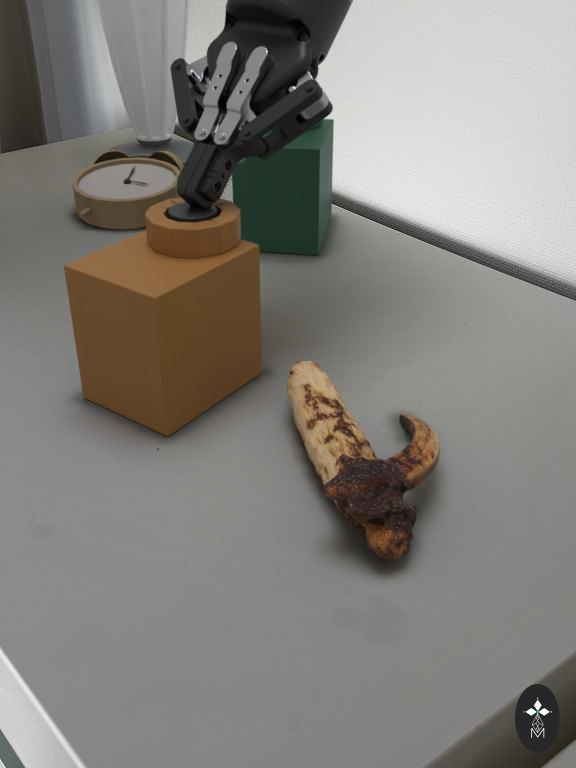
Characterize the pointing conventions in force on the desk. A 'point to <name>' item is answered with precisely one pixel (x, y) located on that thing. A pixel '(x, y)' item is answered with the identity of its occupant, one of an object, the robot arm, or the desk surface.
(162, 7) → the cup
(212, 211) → the dark grey cylinder
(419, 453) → the lashed bone hook
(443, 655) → the desk surface
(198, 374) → the amber bottle
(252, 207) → the green bottle
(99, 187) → the alarm clock
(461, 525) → the desk surface
